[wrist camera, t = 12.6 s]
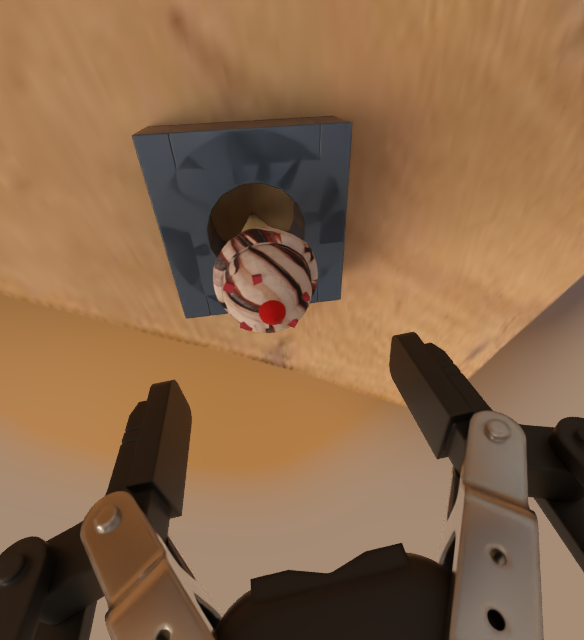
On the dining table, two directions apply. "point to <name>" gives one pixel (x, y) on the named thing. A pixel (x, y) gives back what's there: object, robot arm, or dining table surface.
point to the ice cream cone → (265, 277)
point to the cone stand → (246, 168)
